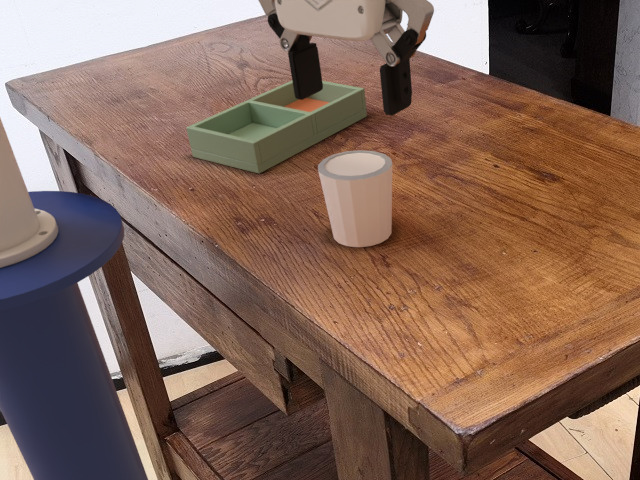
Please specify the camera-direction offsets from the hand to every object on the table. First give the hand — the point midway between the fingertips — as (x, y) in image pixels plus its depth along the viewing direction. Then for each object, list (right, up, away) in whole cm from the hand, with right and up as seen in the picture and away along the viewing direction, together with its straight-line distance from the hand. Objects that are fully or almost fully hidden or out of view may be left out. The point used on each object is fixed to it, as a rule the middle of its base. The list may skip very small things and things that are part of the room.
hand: (352, 102), depth 72 cm
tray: (-11, +7, +29) cm, 32 cm away
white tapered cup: (0, -10, +8) cm, 13 cm away
